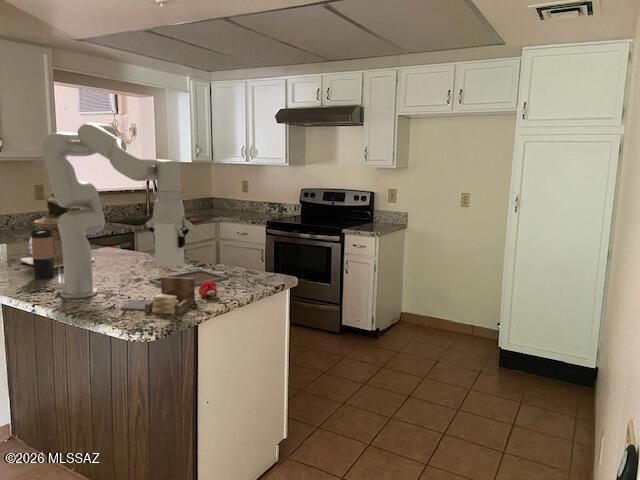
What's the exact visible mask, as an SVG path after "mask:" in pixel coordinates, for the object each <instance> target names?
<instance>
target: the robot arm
mask: <svg viewBox="0 0 640 480" xmlns="http://www.w3.org/2000/svg"><path fill="white" fill-rule="evenodd" d="M118 134H119V133H118V132H117V130H116V129H115V128H114V127H113V126H111V125H109V124H104V123H97V122H87V123H83V124H82V125H81V126H80V127H79V128H78V129H77V132H69V131H68V132H66V131H57V132H56V131H55V132H52V133H50V134H48V135H46V136H45V137H44V139H43V140H42V143H41V149H40V150H41V156H42V159H43V162H44V164H45V167H46V170H47V172H48V175H49V179H50V183H51V187H52V190H53V194H54V198H56V201H57V203H58V205H59V206H61V207H64V208H70V209H72V208H79V210H72V211H71V210H70V211H67V213H65V214H63V215H62V216H61V217H60V218H59V220H58V229H59V233H60V236H61V241H62V251H63V264H64V266H63V280H64V282H61V281H58V282H56V285H55V289H61V290H62V291H60V296H61V297H62V298H65V299H82V298H83V299H84V298H90V297H92V296H95V295H97V294H98V291H99V290H98V289H97V287H94V285H93V284H94V280H93V279H94V278H93V265H92V264H93V262H92V259H91V258H92V248H91V244H90V242H89V240H88V238H87V236H89V235H94V234H97V233H100V232H102V231H103V229H104V227H105V225H106V219H105V215H104V210H103V205H102V202H101V198H100V194H99V191H98V190H97V188H96V186H95V185H93V183H91V182H89V181H85V180H84V181H81V180H80V181H78V178H77V175H76V171H75V168H74V166H73V165H72V163H71V162H70V161H69V160H68V158H67V157H89V156H93V155H95V154H99V155H100V156H102V157H103V158H105V159H107V160H108V161H109V163H110V164H111V166H112V167H113V169H114V170H115V171H117V172H118V173H120V174H121V175H123V176H124V177H126V178H128V179H130V180H132V181H134V182H135V181H136V182H145V181H146V182H147V181H148V182H149V181H156V183H157V184H156V187H157V188H156V191H155V192H153V194H152V195H153V197H156V199H154V203H153V210H152V218H150V219H149V220H147V222H146V221H145V226H146V227H147V228H148V230H149V232H150V233H151V234H152V235H153V240H154V245H155V222H156V221H157V220H158V219H159V220H158V221H157V222H156V223H171V222H170V221H169V220H168V219H167V218H166V217H165V216H163V212H165V215H166V216H167V217H168V218H169V219H170V220H171V221H172V222H173V223H175V230H177V231H178V233H179V234H180V237H179V248H182V247H184V248H185V244H186V235H187V234H189V232H190V231H191V230H192V229H193V227H194V224H193V223H192V222H190V221H189V220H187V219H186V218H185V207H184V203H183V200H181V166H180V162H179V161H178V160H173V159H172V160H171V159H158V158H145V157H142V158H141V157H139V158H138V157H136V156H135V155H132V154H130V153H129V152H127V143H126V142H125V140H124V139H122V138H121V137H119V135H118ZM162 216H163V217H162ZM161 217H162V218H161ZM160 218H161V219H160ZM185 225H186V228H185ZM183 228H184V229H183Z"/></svg>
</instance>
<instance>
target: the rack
mask: <svg viewBox="0 0 640 480" xmlns="http://www.w3.org/2000/svg"><path fill="white" fill-rule="evenodd" d="M160 289H161V293H160V294H165V295H173V296H177V300H179V304H178V305H177V306H176V314H175V315H177V316H180V315H182V314H183V313H184V312H185V311H186V310H187V309H188V308H190V307H191V306H192V305H193V304H194V303H196V301H195V300H196V299H195V298H196V295H195V294H196V292H195V291H196V290H195V289H196V286H195V282H194V278H180V277H165V276H161V288H160ZM149 301H150V302H148V303H147V304H145V314H150V313H152V307H153V302H154V298H152V299H151V300H149Z"/></svg>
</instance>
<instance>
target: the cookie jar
mask: <svg viewBox="0 0 640 480" xmlns="http://www.w3.org/2000/svg"><path fill="white" fill-rule="evenodd" d="M45 201H46V207H47V210H48V213H47V214H46V215H45V216H43V217H42V218H40V219H36V220H34V221H33V225H34V227H35V230H51V231H52V242H53V256H54V269H58V268H59V269H60V268H62V267H64V264H63V251H62V241H61V236H60V233H59V229H58V220H59V218H60V217H61V216H62V215H63V214H65V213H67V212H70V211H71V208H64V207H61V206H59V205H58V203H57V201H56V198H55V197H51V196H49V195H48V196H46V197H45ZM19 259H20V261H21V264H27V265H31V266H34V264H33V256H32V257H22V258H19ZM91 259H92V263H93V262H95V261H96V258H94V257H91Z"/></svg>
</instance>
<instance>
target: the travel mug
mask: <svg viewBox="0 0 640 480" xmlns="http://www.w3.org/2000/svg"><path fill="white" fill-rule="evenodd" d="M30 234H31V250H32V257H33V264H34V265H33V272H34V273H33V274H34V279H36V280H50V279H52V278H54V277H55V268H54V256H53V242H52V231H51V230H36V229H35V230H31V232H30Z"/></svg>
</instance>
